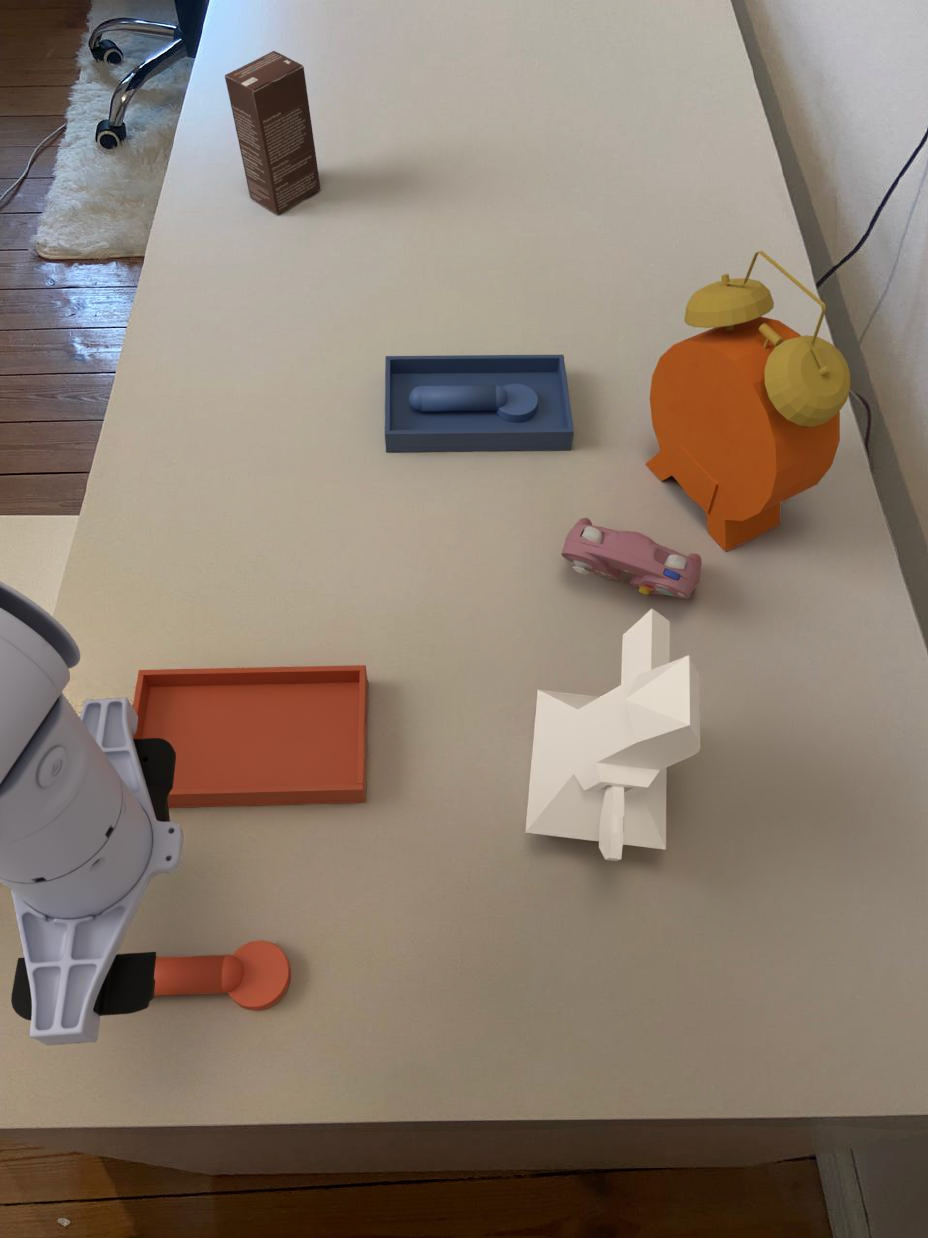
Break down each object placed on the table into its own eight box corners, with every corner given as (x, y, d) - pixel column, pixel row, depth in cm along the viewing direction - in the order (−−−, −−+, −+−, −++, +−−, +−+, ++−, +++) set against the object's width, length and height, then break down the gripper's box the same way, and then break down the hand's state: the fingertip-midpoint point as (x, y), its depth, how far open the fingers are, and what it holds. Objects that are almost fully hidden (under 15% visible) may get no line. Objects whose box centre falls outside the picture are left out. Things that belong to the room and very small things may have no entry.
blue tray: (385, 452, 77) (384, 433, 75) (386, 374, 81) (385, 355, 80) (571, 450, 77) (574, 431, 75) (560, 373, 82) (563, 354, 80)
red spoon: (98, 1016, 53) (87, 1008, 52) (108, 949, 55) (98, 940, 54) (289, 1009, 54) (284, 1002, 52) (292, 943, 56) (288, 934, 54)
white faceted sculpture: (517, 890, 58) (538, 801, 46) (535, 686, 65) (557, 567, 54) (658, 907, 57) (714, 823, 46) (660, 701, 65) (708, 584, 53)
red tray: (126, 809, 60) (117, 796, 58) (146, 685, 65) (138, 669, 63) (365, 802, 60) (363, 789, 59) (367, 680, 65) (365, 664, 63)
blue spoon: (409, 423, 78) (408, 405, 76) (409, 392, 80) (408, 373, 78) (539, 422, 78) (541, 404, 76) (535, 390, 80) (537, 372, 78)
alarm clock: (800, 535, 73) (908, 324, 56) (737, 568, 71) (829, 359, 54) (691, 424, 79) (760, 203, 62) (631, 451, 77) (685, 231, 60)
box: (291, 172, 97) (274, 47, 87) (321, 191, 95) (308, 65, 85) (245, 197, 94) (221, 72, 84) (275, 217, 93) (255, 91, 83)
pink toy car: (557, 576, 72) (551, 557, 65) (577, 519, 73) (574, 495, 66) (685, 619, 70) (693, 604, 64) (705, 560, 71) (715, 540, 64)
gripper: (130, 1002, 33) (212, 1065, 44) (170, 642, 41) (231, 774, 52) (-81, 1017, 33) (56, 1077, 44) (0, 652, 40) (98, 783, 52)
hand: (141, 914), depth 48 cm, fingers open, 7 cm apart
